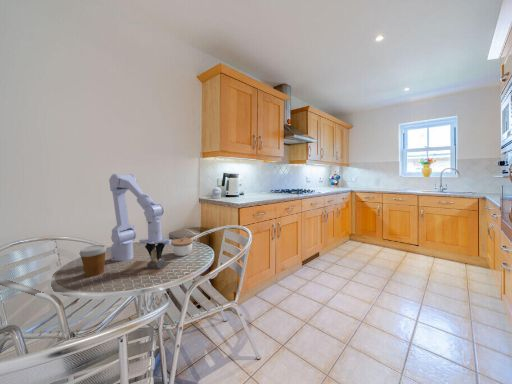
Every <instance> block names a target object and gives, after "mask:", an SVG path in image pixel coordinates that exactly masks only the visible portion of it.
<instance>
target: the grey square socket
mask: <svg viewBox="0 0 512 384" xmlns="http://www.w3.org/2000/svg"><path fill="white" fill-rule="evenodd" d="M148 261H149V262H148V263H147V266H146V267H145V269H160V268H162V267H163V266H164V265H165V264H166V263H167V262H168V261H165V257H161V260H160V261H158V262H157V263H152V262H151V260H148Z"/></svg>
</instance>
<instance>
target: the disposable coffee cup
mask: <svg viewBox="0 0 512 384" xmlns="http://www.w3.org/2000/svg"><path fill="white" fill-rule="evenodd" d="M107 249H108V248H107V247H106V245H104V244H98V245H97V244H96V245H90V246H86V247H84V248H81V249H80V252H79V253H78V254H79V256H80V257H81V258H80V259H81V262H82V266H83V270H84V275H85V277H89V278H90V277H97V276H99V275H101V274H103V273H104V271H105V261H106V252H107Z"/></svg>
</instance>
